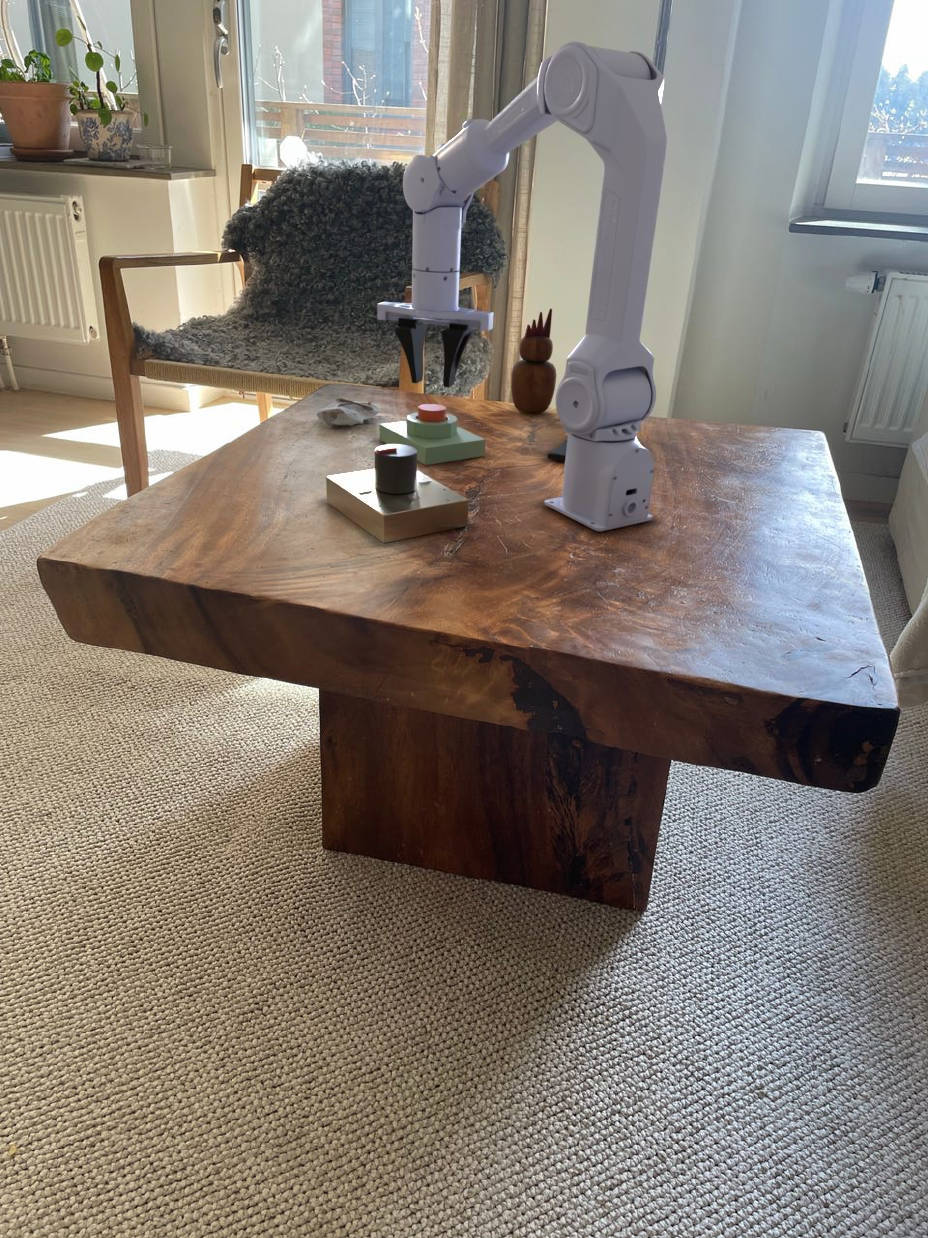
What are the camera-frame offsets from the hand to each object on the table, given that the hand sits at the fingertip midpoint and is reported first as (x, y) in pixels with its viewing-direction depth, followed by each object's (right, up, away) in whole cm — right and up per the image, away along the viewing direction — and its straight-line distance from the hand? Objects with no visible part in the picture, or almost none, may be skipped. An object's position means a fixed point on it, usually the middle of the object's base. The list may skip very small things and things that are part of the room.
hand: (432, 383), depth 113 cm
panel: (-3, -19, -18) cm, 26 cm away
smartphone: (+21, -7, +6) cm, 23 cm away
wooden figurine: (+14, +2, +23) cm, 27 cm away
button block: (0, -7, +4) cm, 8 cm away
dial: (-3, -16, -19) cm, 25 cm away
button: (0, -4, +2) cm, 5 cm away
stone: (-12, -2, +14) cm, 19 cm away
